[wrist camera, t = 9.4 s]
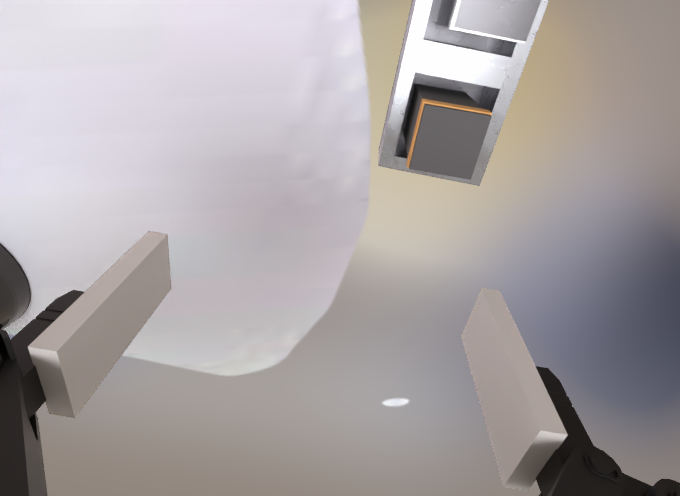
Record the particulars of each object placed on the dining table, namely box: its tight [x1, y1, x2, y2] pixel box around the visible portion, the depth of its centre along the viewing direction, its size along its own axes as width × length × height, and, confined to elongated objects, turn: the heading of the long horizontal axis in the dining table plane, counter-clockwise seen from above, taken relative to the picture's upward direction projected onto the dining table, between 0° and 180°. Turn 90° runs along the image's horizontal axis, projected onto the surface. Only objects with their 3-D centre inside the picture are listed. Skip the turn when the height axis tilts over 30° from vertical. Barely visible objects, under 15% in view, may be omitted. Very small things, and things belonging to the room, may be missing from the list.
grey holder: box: [379, 0, 549, 186], centre depth 27 cm, size 8×16×10 cm, turn 170°
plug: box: [404, 84, 492, 180], centre depth 28 cm, size 4×4×9 cm
